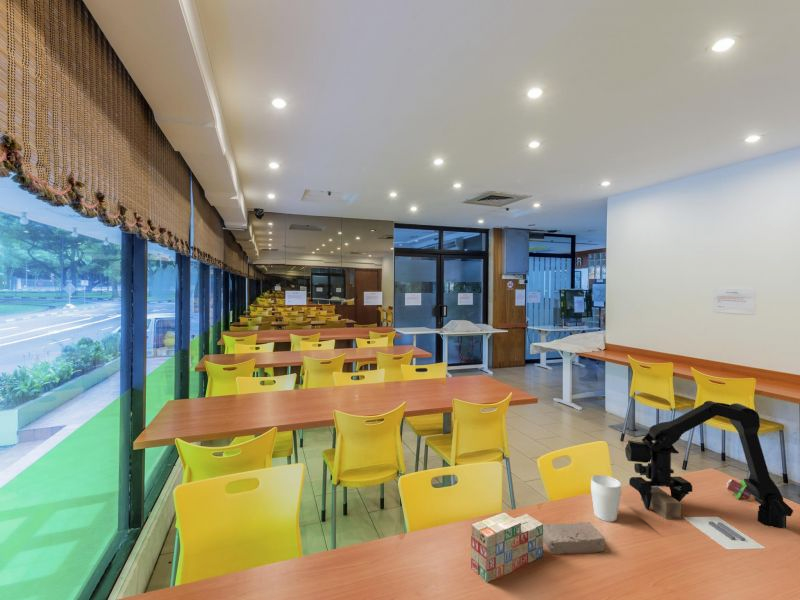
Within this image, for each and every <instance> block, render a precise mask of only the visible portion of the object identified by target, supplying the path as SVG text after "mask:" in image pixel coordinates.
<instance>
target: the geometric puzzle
mask: <svg viewBox="0 0 800 600" xmlns="http://www.w3.org/2000/svg"><path fill="white" fill-rule="evenodd" d="M726 490H728V491H729V492H731V493H732V492H733V493H732V495H733V496H734V497H735V498H736V500H737V501H738V500H740V499H741V500H742V499H743V498H744V499H746V500H749V499H750V498H751V497H752V495H751V494H750V492H748V491H747V490H746V483H745V481H744V478H743V479H741V478H740V481H739V479H737V480H735V479H729V480H728V481H727V482H726ZM741 497H742V498H741ZM739 498H740V499H739Z"/></svg>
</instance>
